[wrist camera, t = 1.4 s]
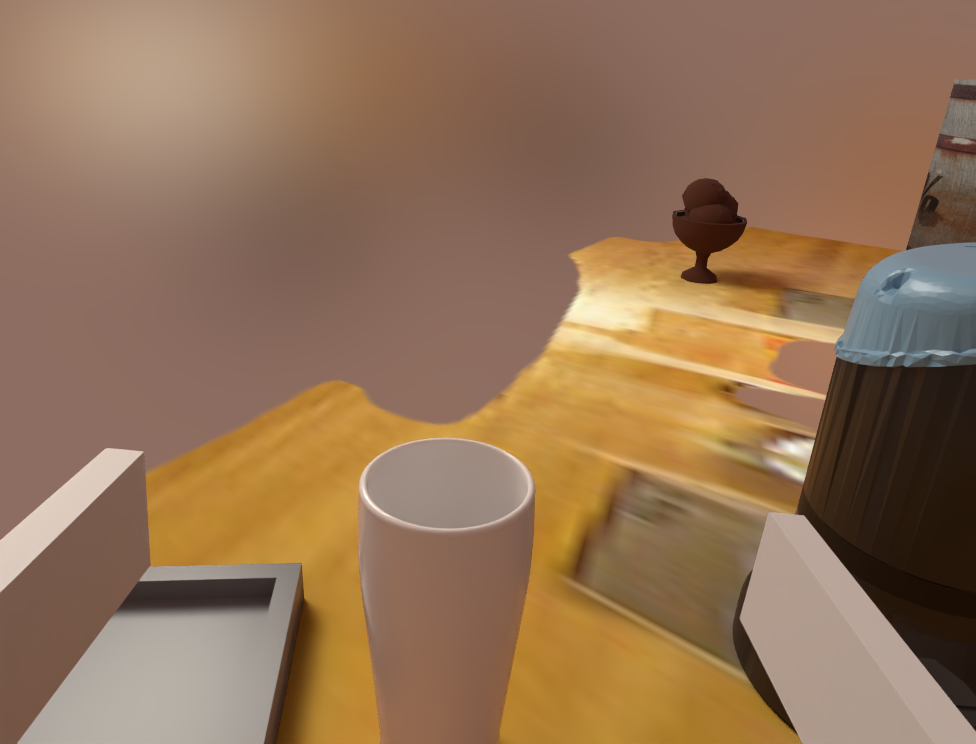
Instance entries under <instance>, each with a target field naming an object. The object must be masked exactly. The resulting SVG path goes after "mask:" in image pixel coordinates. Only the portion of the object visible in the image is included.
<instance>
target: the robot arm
mask: <svg viewBox="0 0 976 744" xmlns="http://www.w3.org/2000/svg"><path fill="white" fill-rule="evenodd" d="M835 351H836V356H837V358H836V362H835V365H834V369H833V373H832V377H831V381H830V384H829V388H828V392H827V396H826V400H825V404H824V408H823V411H822V416H821V419H820V423H819V427H818V431H817V435H816V438H815V442H814V446H813V450H812V454H811V458H810V462H809V465H808V469H807V473H806V477H805V481H804V485H803V488H802V492H801V496H800V499H799V504H798V507H797V511H796V513H795V515H794V514H784V513H773V512H769V513H768V517H767V521H766V524H765V528H764V532H763V535H762V539H761V542H760V546H759V550H758V553H757V557H756V561H755V564H754V568H753V570H752V571H751V572H750V573H749V575H748V576H747V578H746V580H745V582H744V584H743V586H742V589H741V592H740V596H739V600H738V604H737V608H736V612H735V617H734V621H733V640H734V645H735V649H736V652H737V656H738V658H739V660H740V663H741V665H742V667H743V669H744V671H745V673H746V675H747V676H748V678H749V680H750V681H751V683H752V684H753V685H754V687H755V688H756V690H757V691H758V692H759V694H760V695H761V696H762V697H763V699H764V700H765V701H766V702H767V703H768V704H769V705H770V706H771V707H772V708H773V710H774V711H775V712H776V713H777V714H778V715H779V716H781V717H782V718H783V719H784V720H785V721H786V722H787V723H788V724H789V725H791V726H792V727H793V728H794V729H795V730H796V732H797V734H798V736H799V738H800V740H801V742H802V744H976V242H974V243H954V244H941V245H932V246H925V247H919V248H914V249H909V250H905V251H902V252H899V253H896V254H893V255H891V256H889V257H887V258H885V259H883V260H882V261H880V262H879V263H877V264H876V265H875V266H873V267H872V268H871V269H870V270H869V271H868V273H867V274H866V275H865V277H864V278H863V280H862V281H861V284H860V286H859V289H858V292H857V295H856V297H855V300H854V303H853V306H852V309H851V312H850V315H849V318H848V321H847V324H846V327H845V330H844V333H843V335H842V336H841V337H840V338H839V339H838V340H837V342H836V345H835ZM149 566H150V548H149V530H148V512H147V495H146V477H145V460H144V452H142V451H132V450H122V449H112V448H106V449H105V450H103V451H102V452H101V453H100V454H99V455H98V456H97V457H95V458H94V459H93V460H92V461H91V462H90V463H88V464H87V466H85V467H84V468H83V469H82V470H81V471H79V472H78V473H77V474H76V475H75V476H74V477H72V478H71V479H70V480H69V481H68V482H67V483H66V484H65V485H63V486H62V487H61V488H60V489H59V490H58V491H57V492H55V493H54V494H53V495H52V496H51V497H50V498H48V499H47V500H46V501H45V502H44V503H43V504H42V505H40V506H39V507H38V508H37V509H36V510H35V511H34V512H32V513H31V514H30V515H29V516H28V517H27V518H25V519H24V520H23V521H22V522H21V523H20V524H19V525H17V526H16V527H15V528H14V529H13V530H12V531H11V532H9V533H8V534H7V535H6V536H5V537H4V538H3V539H2V540H0V744H17V743H18V741H19V740H20V739H21V737H22V736H23V735H24V733H25V732H26V731H27V729H28V728H29V727H30V725H31V724H32V723H33V721H34V720H35V719H36V717H37V716H38V715H39V713H40V712H41V711H42V709H43V708H44V707H45V705H46V704H47V703H48V701H49V700H50V699H51V697H52V696H53V695H54V693H55V692H56V691H57V689H58V688H59V687H60V685H61V684H62V683H63V681H64V680H65V679H66V677H67V676H68V675H69V673H70V672H71V671H72V669H73V668H74V667H75V665H76V664H77V663H78V661H79V660H80V659H81V657H82V656H83V655H84V653H85V652H86V651H87V649H88V648H89V647H90V645H91V644H92V643H93V641H94V640H95V639H96V637H97V636H98V635H99V633H100V632H101V631H102V629H103V628H104V627H105V625H106V624H107V623H108V621H109V620H110V619H111V617H112V616H113V615H114V613H115V612H116V611H117V609H118V608H119V607H120V605H121V604H122V602H123V601H124V600H125V598H126V597H127V596H128V594H129V593H130V592H131V590H132V589H133V588H134V586H135V585H136V584H137V582H138V581H139V580H140V578H141V577H142V576H143V574H144V573H145V572H146V570H147V569H148V568H149Z"/></svg>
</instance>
